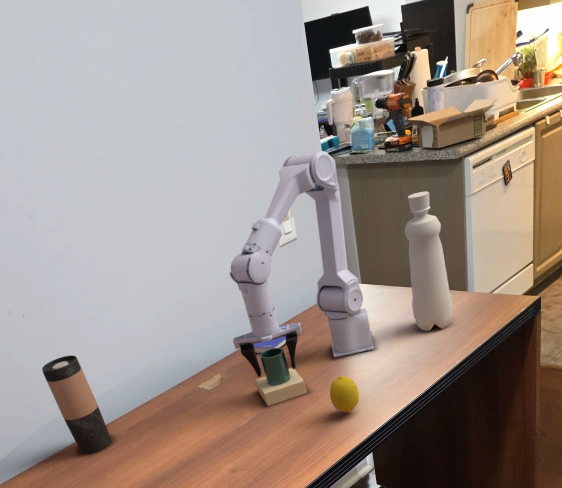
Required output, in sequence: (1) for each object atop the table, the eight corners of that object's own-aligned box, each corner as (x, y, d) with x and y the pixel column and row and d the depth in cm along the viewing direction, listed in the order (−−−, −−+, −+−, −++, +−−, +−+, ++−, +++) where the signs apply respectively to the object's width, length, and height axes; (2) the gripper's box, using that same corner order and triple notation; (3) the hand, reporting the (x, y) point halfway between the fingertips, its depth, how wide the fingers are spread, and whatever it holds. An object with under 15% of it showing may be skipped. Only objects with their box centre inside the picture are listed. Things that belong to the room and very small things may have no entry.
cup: (290, 372, 145) (283, 345, 142) (290, 382, 140) (283, 354, 137) (268, 378, 146) (260, 351, 142) (267, 387, 141) (259, 360, 138)
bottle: (414, 321, 161) (397, 195, 146) (452, 314, 159) (438, 186, 144) (416, 335, 154) (397, 203, 139) (455, 328, 151) (441, 193, 136)
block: (296, 379, 149) (293, 367, 147) (307, 393, 141) (303, 380, 139) (258, 391, 148) (255, 379, 146) (267, 406, 140) (264, 393, 139)
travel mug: (118, 435, 146) (84, 353, 136) (100, 454, 140) (62, 369, 130) (91, 437, 149) (55, 356, 139) (72, 455, 143) (33, 372, 133)
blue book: (272, 347, 165) (297, 327, 173) (247, 347, 170) (272, 328, 178) (273, 353, 166) (298, 333, 174) (248, 352, 171) (274, 333, 179)
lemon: (365, 405, 129) (358, 369, 125) (356, 419, 125) (349, 382, 121) (340, 406, 132) (332, 370, 128) (330, 419, 128) (322, 383, 124)
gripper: (225, 326, 133) (243, 385, 139) (295, 309, 131) (309, 371, 137) (228, 315, 139) (245, 372, 145) (294, 299, 137) (308, 358, 143)
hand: (276, 371), depth 142 cm, fingers open, 7 cm apart
